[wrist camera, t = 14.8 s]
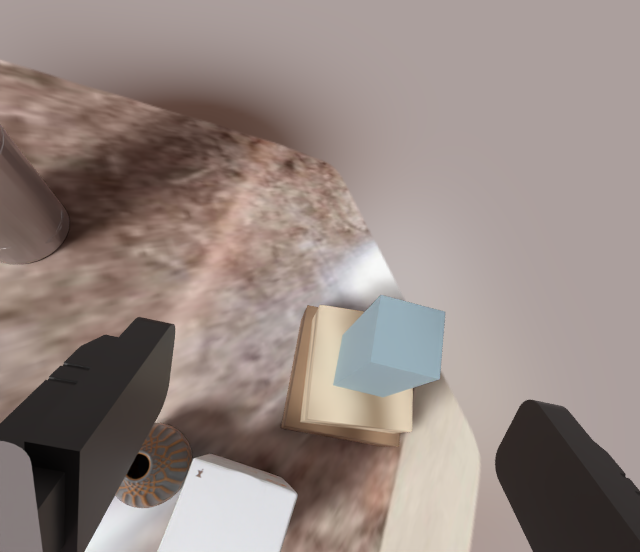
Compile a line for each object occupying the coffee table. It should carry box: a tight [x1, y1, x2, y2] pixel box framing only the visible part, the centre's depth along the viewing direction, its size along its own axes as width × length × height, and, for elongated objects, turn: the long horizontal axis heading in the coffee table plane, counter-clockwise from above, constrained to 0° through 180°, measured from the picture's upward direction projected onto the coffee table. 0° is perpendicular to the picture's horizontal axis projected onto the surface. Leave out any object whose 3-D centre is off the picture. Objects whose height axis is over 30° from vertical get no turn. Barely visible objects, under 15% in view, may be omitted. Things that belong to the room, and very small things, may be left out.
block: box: [333, 295, 445, 397], centre depth 31 cm, size 4×4×11 cm
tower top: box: [300, 305, 413, 433], centre depth 38 cm, size 9×10×5 cm
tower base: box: [281, 305, 400, 447], centre depth 44 cm, size 11×12×6 cm
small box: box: [157, 454, 298, 552], centre depth 34 cm, size 8×6×13 cm
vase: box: [115, 423, 192, 508], centre depth 36 cm, size 7×7×9 cm
